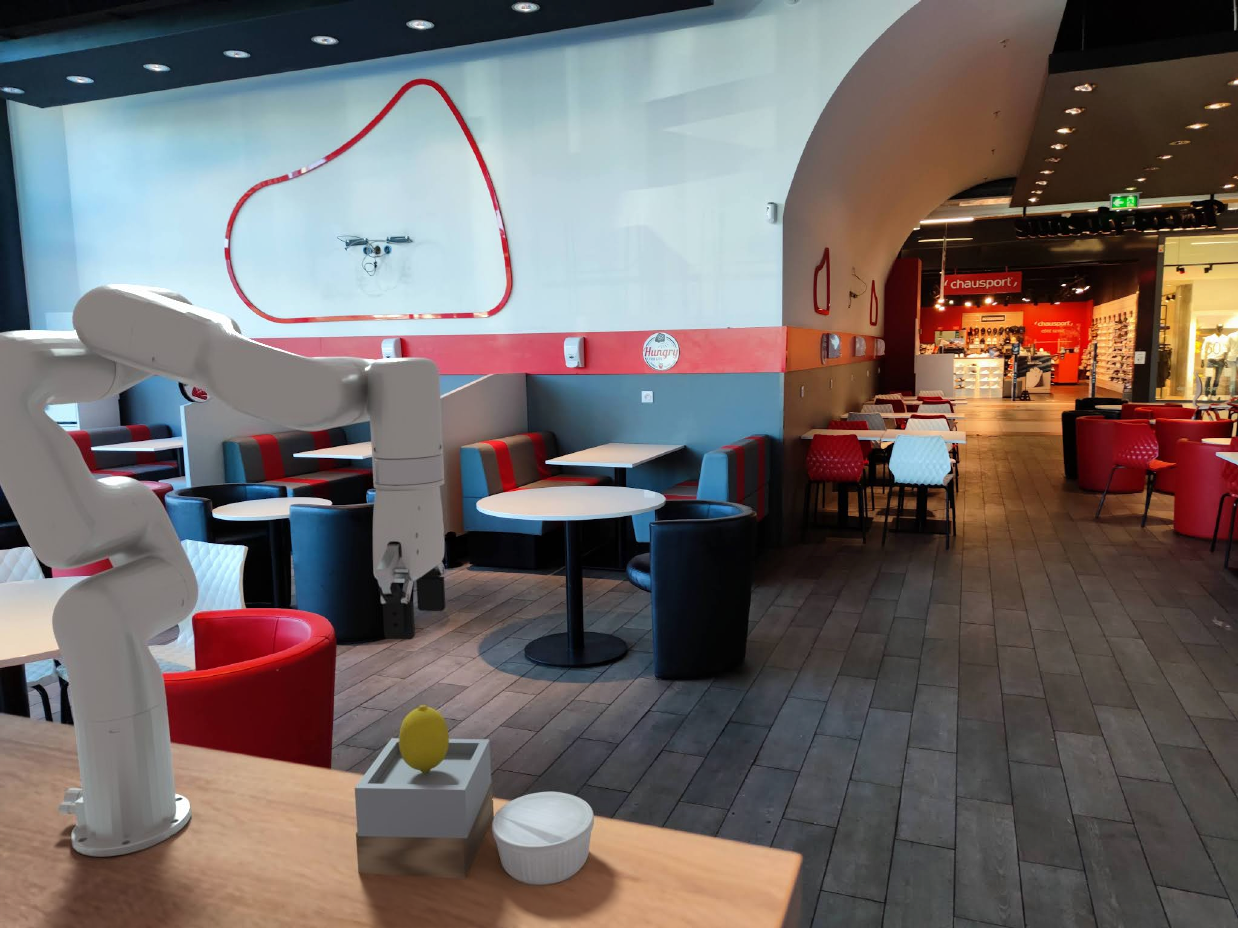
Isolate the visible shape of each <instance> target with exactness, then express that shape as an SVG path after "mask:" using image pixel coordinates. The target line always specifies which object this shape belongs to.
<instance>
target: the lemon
mask: <svg viewBox="0 0 1238 928" xmlns="http://www.w3.org/2000/svg"><path fill="white" fill-rule="evenodd" d="M404 717H405V718H403V720H402V723H401V726H400V728H399V736H398V738H399V747H400V752H401V755H402V758H403V760H404V761H405V762H406V763H407V764H408V765H409V766H410V767H411V768H414V769H416V770H420V771H421V772H422V773H424V774H426V773H428V772H429V771H430V770H431V769H432V768H434V767H436V766H437V765H439V764H440V763H441V762H442V760H443V759H444V757H445V755H446V753H447V750H448V745H449V739H450V737H449V736H450V735H449V734H450V733H449V731H448V730H449V729H448V728H449V727H448V725H447V721H446V720H445V718H444V716H443V715H442V714H441V713H440V712H439V711H438V710H437V709H435V708H432V707H430V706H427V705H426V704H420V705H418V707H417V708H415V709H412V710H411V711H410V712H409V713H408V714H407V715H405V716H404Z"/></svg>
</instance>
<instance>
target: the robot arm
mask: <svg viewBox="0 0 1238 928" xmlns="http://www.w3.org/2000/svg"><path fill="white" fill-rule="evenodd" d="M71 317H72V320H71V321H72V323H71V324H72V327H73V330H74V331H72V330H71V331H68V330H65V331H63V330H37V329H36V330H34V329H33V330H30V329H29V330H27V329H25V330H24V329H21V330H11V331H9V330H8V331H3V332H0V487H1V489H2V492H3V493H4V496H5V498H6V500H7V501H8V502H7V503H8V504H9V506H10V508H11V510H12V512H13V514H14V516H15V518H16V520H17V523H18V525H19V526H20V529H21V531H22V533H23V535H24V536H25V539H26V541H27V542H28V545H29V547H30V548H31V550H32V552H33V553H34V555H35V556H36V558H37V559H38V560H39V561H40V562H41V563H42V564H44V565H45V566H46V567H50V568H52V569H55V570H72V569H76V568H81V567H84V566H87V565H91V564H94V563H96V562H99V561H103V560H106V559H109V562H110V564H111V565H112V568H110V569H107V570H103V571H101V572H98V573H95V574H92V575H89V576H88V577H85V578H83V579H82V580H80V581H78V582H76V583H74V584H73V585H72V586H70V587H69V588H68V589H67V590H66V591H64V593H63V594H61V596H60V597H59V599H58V600H57V602H56V604H55V606H54V608H53V613H52V618H51V623H52V624H51V625H52V631H53V635H54V638H55V641H56V643H57V646H58V647H57V648H58V650H59V653H60V654H61V657H62V661H63V664H64V666H65V670H66V671H65V673H66V674H67V675H66V676H67V680H68V686H69V692H70V700H71V708H72V716H73V723H74V732H75V733H74V734H75V739H76V742H75V743H76V749H77V758H78V767H79V777H80V786H81V788H76V787H69V789H67V790H66V791H65V793H64V795H63V801H62V802H60V804H59V806H58V809H57V810H58V814H61V815H75V816H76V821H77V823H76V825H75V826H74V827H73V829H72V832H70V833H71V836H70V837H71V845H72V848H73V850H75V851H76V852H77V853H79V854H82V855H83V856H84V855H85V856H89V857H98V858H99V857H100V858H102V857H104V858H105V857H115V856H120V855H121V856H122V855H127V854H130V853H134V852H135V853H136V852H138V851H142V850H144V849H145V850H146V849H148V848H151V847H153V846H154V845H157V843H158V844H160V843H161V841H162V842H163V840H164V841H165V839H166V838H167V839H169V838H171V837H172V836H174V835H175V834H177V833H178V832H179V831H180V830H182V829H183V828H184V827H185V825H187V823H188V822H189V820H190V819H191V816H192V806H191V803H190V800H189V799H188V798H187V797H185V796H183V795H181V794H178V793H176V788H175V776H174V767H173V766H174V765H173V756H172V746H171V736H170V734H171V733H170V723H169V716H168V715H169V714H168V705H167V694H166V688H165V687H166V686H165V679H164V675H163V672H162V669H161V667H160V665H159V663H158V662H157V660H156V659H155V657H154V655H153V654H152V653H151V650H150V648H149V645H148V643H149V642H148V641H149V640H151V639H154V637H156V636H158V635H159V634H161V633H164V632H165V631H167V630H169V629H171V628H173V627H175V626H176V625H178V624H180V623H182V622H183V621H184V620H186V619H187V618H188V617H190V615H191V613H192V612H193V611H194V610H195V607H196V606H197V603H198V599H199V584H198V579H197V576H196V573H195V571H194V569H193V568H194V567H193V566H192V563H191V561H190V560H189V558H188V555H187V553H186V551H185V549H184V546H183V545H182V542H181V540H180V538H179V536H178V533H177V532H176V529H175V527H174V525H173V522H172V520H171V519H170V516H169V514H168V512H167V511H166V508H165V507H164V505H163V503H162V501H161V500H160V498H159V497H158V496H157V494H156V493H155V492H154V491H153V490H152V489H151V488H150V487H148V486H147V485H146V484H144V483H143V482H141V481H139V480H137V479H135V478H133V477H128V476H122V475H120V476H119V475H118V476H117V475H115V476H114V475H113V476H107V477H102V478H95V477H94V475H93V474H92V472H91V470H90V469H89V467H88V465H87V463H86V462H85V459H84V457H83V455H82V452H81V450H80V448H79V446H78V445H77V443H76V441H75V440H74V438H73V437H72V436H71V435H70V434H69V433H68V432H67V431H66V430H65V429H64V428H63V427H62V426H61V425H60V424H59V423H58V422H57V421H55V420H54V419H53V418H51V417H50V416H49V415H48V413H46V407H47V406H53V405H54V406H56V405H68V404H78V403H91V402H97V401H103V400H105V399H106V400H107V399H109V398H113V397H114V396H116V395H118V394H121V393H123V392H124V391H125V392H126V391H127V390H129V389H130V388H131V387H134V386H136V385H137V384H139V383H141V382H143V381H145V380H147V379H149V378H151V377H153V376H155V375H156V376H159V377H163V378H165V379H169V380H171V381H174V382H175V381H176V382H178V383H181V384H185V385H187V386H191V387H194V388H196V389H199V390H201V391H204V392H205V393H206V394H207V395H208V396H209V397H211V398H212V399H213V400H216V401H217V402H218V403H220V404H222V405H223V406H225V407H227V408H230V409H232V410H233V411H237V412H239V413H241V414H244V415H247V416H249V417H253V418H256V419H260V420H262V421H266V422H269V423H272V424H276V425H278V426H282V427H286V428H289V429H293V430H298V431H303V432H319V431H325V430H329V429H333V428H339V427H344V426H349V425H354V424H359V423H365V422H369V426H370V427H369V428H370V441H371V442H370V443H371V459H372V460H371V461H372V463H371V464H372V475H373V476H372V479H373V481H372V482H373V488H374V489H375V493H374V503H373V511H372V512H373V513H372V514H373V515H372V561H373V562H372V564H373V565H372V566H373V567H372V568H373V570H372V571H373V576H374V578H375V579H376V580H377V584H378V587H377V591H378V593H379V594H380V604H382V620H383V632H384V633H383V635H384V638H385V639H387V640H413V638H414V637H415V636H416V628H415V609H414V607H415V606H414V601H411V595H412V590H413V585H414V582H415V581H416V598H417V599H416V601H417V609H418V611H424V612H443V611H445V609H446V589H445V587H446V585H445V576H444V575H445V572H446V571H445V565H444V563H443V561H444V558H445V526H444V514H443V512H444V511H443V506H442V504H443V503H442V498H441V496H442V495H441V489H440V486H443V485H444V484H445V468H444V467H445V466H444V447H443V445H444V444H443V443H444V442H443V422H442V405H441V404H442V401H441V383H440V382H441V381H440V380H441V379H440V370H439V367H438V365H437V364H436V362H435V361H433V359H430V358H426V357H389V358H380V359H369V358H361V357H355V356H354V357H353V356H317V357H316V356H315V357H308V356H304V355H299V354H296V353H292V352H290V351H287V350H283V349H280V348H276V347H273V346H270V345H266V344H263V343H260V342H258V341H255V340H252V339H250V338H248V337H246V336H244V335H243V334H242V330H241V328H240V326H239V324H238V323H237V322H236V321H235V320H234V319H233V318H231V317H229V316H227V315H224V314H221V313H219V312H218V313H217V312H215V311H212V310H209V309H206V308H201V307H198V306H194V304H193V303H192V302H191V301H189V299H187V298H186V297H185V296H183V295H182V294H180V293H179V292H176V291H174V290H170V289H167V288H162V287H161V288H160V287H153V286H142V285H134V284H133V285H132V284H119V283H116V284H115V283H112V284H111V283H109V284H105V285H100V286H97V287H95V288H92V289H90V290H89V291H87V292H85V294H83V295H82V296H81V297H80V299H79V300H78V301H77V302H76V305H75V306H74V309H73V311H72V316H71ZM401 583H402V584H403V586H402V588H401V586H400V585H399V584H401ZM173 834H174V835H173ZM171 835H172V836H171ZM170 836H171V837H170ZM167 839H166V840H167ZM159 842H160V843H159Z"/></svg>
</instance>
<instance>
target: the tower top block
mask: <svg viewBox="0 0 1238 928" xmlns="http://www.w3.org/2000/svg"><path fill="white" fill-rule="evenodd" d="M490 741H491V740H490V739H489V738H488V739H487V738H483V739H482V738H480V739H479V738H476V739H475V738H449V745H448V750H447V753H446V755H445V757H444V759H443V760H442V762H441V763H440V764H439V765H437V766H436V767H434V768H432V769H431V770H430V771H429V772H428V773H426V774H424V773H422V772H421V771H420V770H416V769H414V768H411V767H410V766H409V765H408V764H407V763H406V762H405V761H404V760H403V758H402V755H401V752H400V747H399V737H398V738H397V737H395V738H394V737H391V739H390V740H389V741H388V742H387V744H386V745H385V746H384V747H383V749H382V751H381V752H380V753H379V754H378V756H377V757H376V759H374V761H373V762H372V763H371V766H370V767H369V768H368V770H367V771H366V772H365V774H363V776H362V778H361V779H360V780H359V781H358V783H357V784H356V786H354V797H355V798H354V799H355V814H356V830H357V831H356V832H357V833H358V836H380V837H428V838H467V837H468V835H469V833H470V831H471V828H472V826H473V824H474V821H475V819H476V817H477V814H478V812H479V810H480V807H481V805H482V803H483V801H484V798H485V796H486V794H487V791H488V789H489V787H490V784H491V783H492V770H491V769H492V766H491V765H492V764H491V743H490Z"/></svg>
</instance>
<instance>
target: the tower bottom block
mask: <svg viewBox="0 0 1238 928" xmlns="http://www.w3.org/2000/svg"><path fill="white" fill-rule="evenodd" d="M493 791H494V789H493V782H491V784H490V787H489V789H488V791H487V794H486V796H485V798H484V801H483V803H482V805H481V807H480V810H479V812H478V814H477V817H476V819H475V821H474V824H473V826H472V828H471V831H470V833H469V835H468V837H467V838H428V837H380V836H358V833H357V831H356V832H355V838H356V839H355V841H356V857H357V870H358V871H357V872H358V874H374V875H387V876H388V875H391V876H406V877H407V876H408V877H411V876H412V877H427V878H444V879H446V878H447V879H448V878H449V879H461V880H462V879H466V877H467V875H468V873H469V871H470V869H471V867H472V866H473V863H474V861H475V858H476V856H477V854H478V852H479V851H480V848H481V846H482V844H483V842H484V840H485V838H486V836H487V833H488V831H489V829H490V827H491V826H492V821H493V818H494V816H495V814H494V812H495V811H494V792H493ZM492 799H493V800H492Z"/></svg>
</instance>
